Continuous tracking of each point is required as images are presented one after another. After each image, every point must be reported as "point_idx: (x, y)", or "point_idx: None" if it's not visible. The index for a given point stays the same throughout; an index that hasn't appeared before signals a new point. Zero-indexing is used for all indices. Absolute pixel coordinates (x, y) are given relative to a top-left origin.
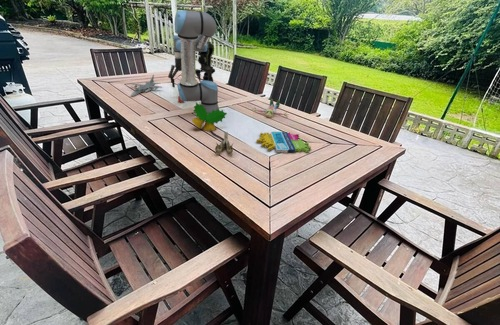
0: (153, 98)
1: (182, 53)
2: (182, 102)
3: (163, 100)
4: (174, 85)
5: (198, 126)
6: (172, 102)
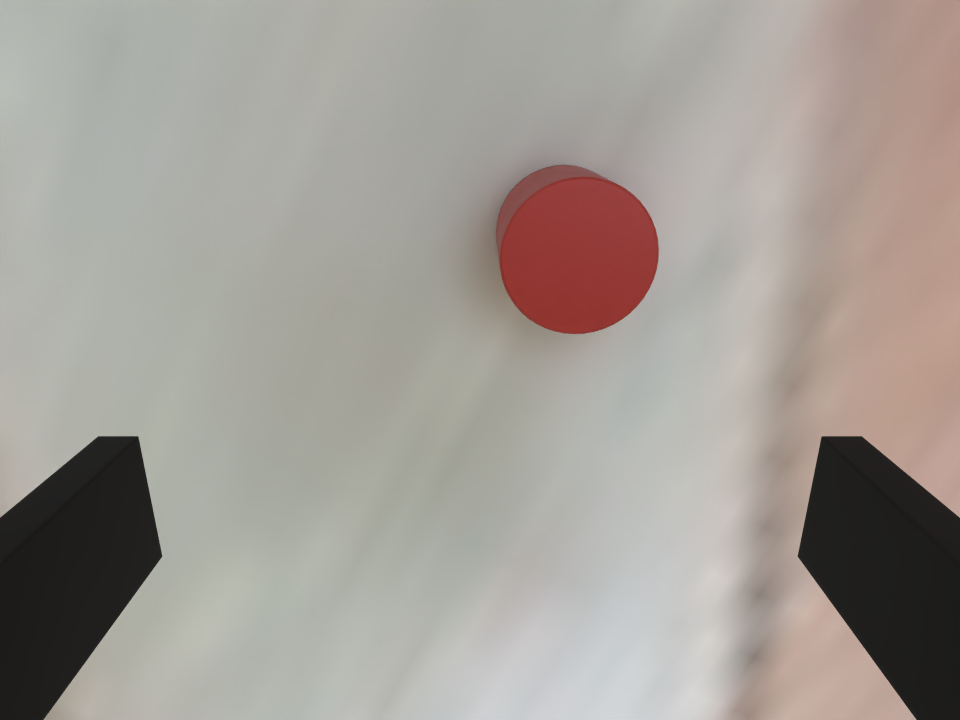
0: None
1: None
2: (566, 165)
3: None
4: (877, 479)
5: None
6: (743, 291)
